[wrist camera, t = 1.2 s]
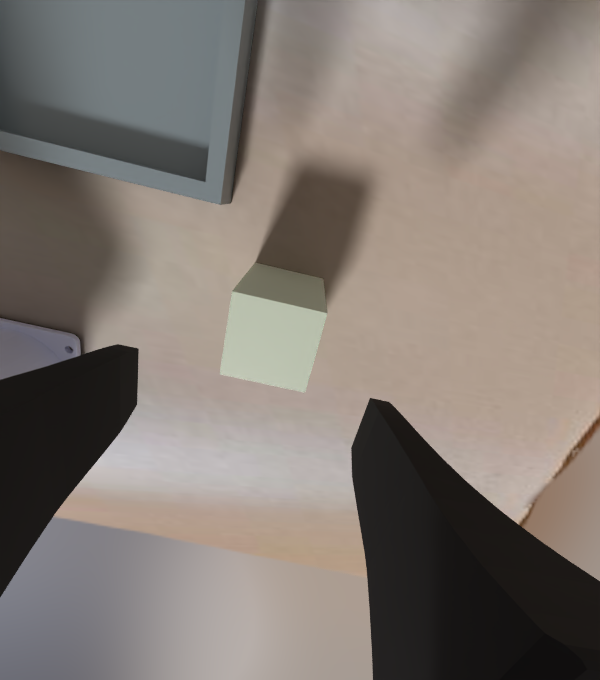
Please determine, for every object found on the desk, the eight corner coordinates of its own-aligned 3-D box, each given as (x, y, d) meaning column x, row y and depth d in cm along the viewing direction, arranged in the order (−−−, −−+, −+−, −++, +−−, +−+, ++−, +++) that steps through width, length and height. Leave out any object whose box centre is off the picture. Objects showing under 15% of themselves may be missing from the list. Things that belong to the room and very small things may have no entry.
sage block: (307, 339, 21) (305, 392, 15) (244, 325, 21) (219, 374, 15) (323, 278, 19) (327, 313, 14) (255, 262, 19) (232, 291, 14)
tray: (230, 203, 18) (220, 204, 16) (-10, 143, 17) (-53, 137, 15) (276, -141, 13) (269, -203, 11) (-63, -247, 12) (-139, -336, 10)
